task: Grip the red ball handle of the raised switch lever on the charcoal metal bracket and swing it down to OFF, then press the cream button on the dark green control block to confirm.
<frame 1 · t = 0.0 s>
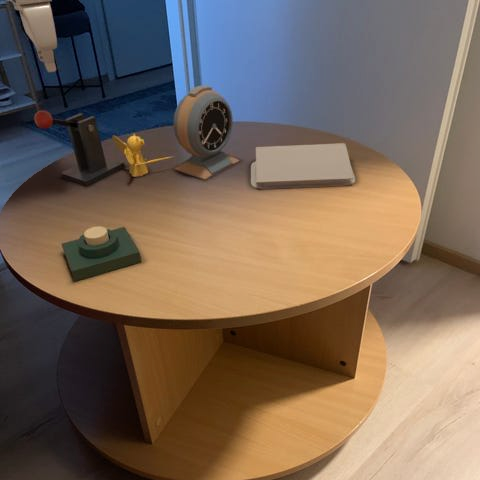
hand: (48, 65, 105), 24 cm above the table, tool pointing down, fingers open, 8 cm apart
figurine: (149, 170, 120), on the table
switch lever: (62, 122, 109), point 13 cm above the table, hinge at 25.0°
control block: (102, 257, 92), on the table
book: (301, 173, 115), on the table
switch bracket: (94, 172, 121), on the table
confirm button: (96, 236, 89), point 4 cm above the table, slide at 0.1 cm
alarm clock: (207, 166, 120), on the table
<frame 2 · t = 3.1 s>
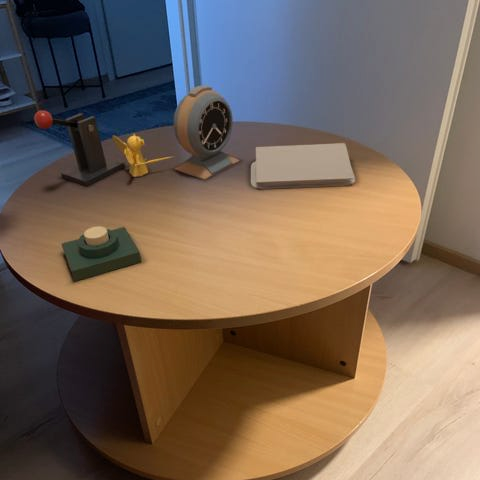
nothing on the table moved.
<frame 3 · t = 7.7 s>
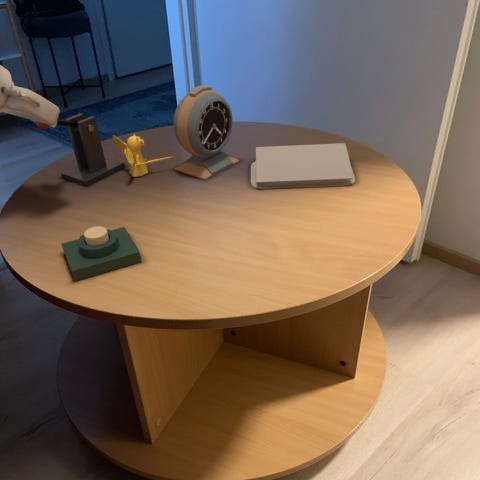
hand: (46, 121, 106), 15 cm above the table, tool tilted 45°, fingers closed on switch lever, 3 cm apart
switch lever: (62, 122, 109), point 13 cm above the table, hinge at 25.0°, touching gripper
everything else where it was.
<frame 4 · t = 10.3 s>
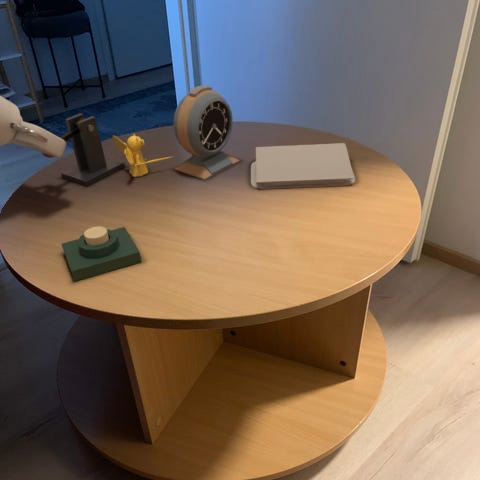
hand: (53, 152, 110), 8 cm above the table, tool tilted 45°, fingers closed on switch lever, 3 cm apart
switch lever: (65, 137, 111), point 10 cm above the table, hinge at -10.2°, touching gripper
everything else where it was.
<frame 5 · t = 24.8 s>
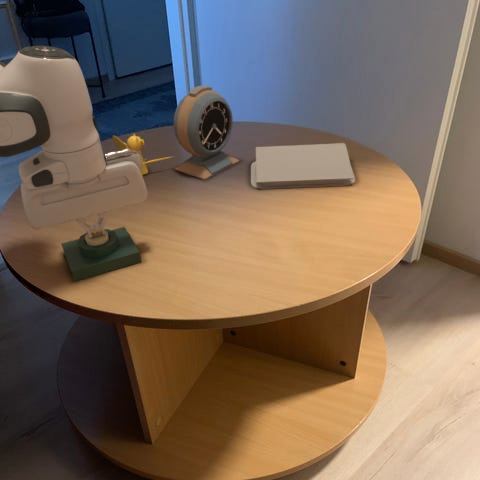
hand: (97, 235, 89), 5 cm above the table, tool pointing down, fingers closed, pressing on confirm button
switch lever: (70, 145, 113), point 8 cm above the table, hinge at -34.2°
confirm button: (97, 239, 90), point 4 cm above the table, slide at -0.6 cm, touching gripper
everything else where it was.
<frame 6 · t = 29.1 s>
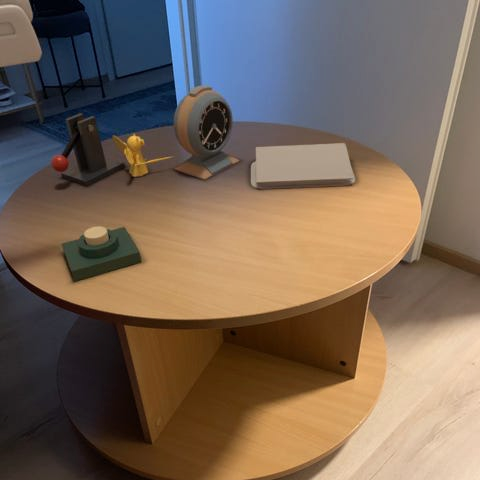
confirm button: (96, 236, 89), point 4 cm above the table, slide at 0.1 cm
everything else where it was.
at the end: switch lever at -34° (first picture: +25°); confirm button pushed in 1.1 cm at the most during the clip, back to where it started at the end; confirm button slide at 0.1 cm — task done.
